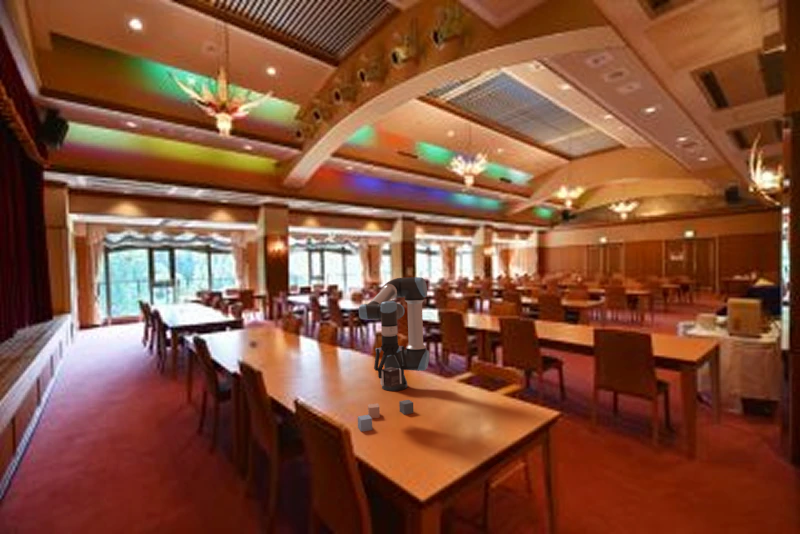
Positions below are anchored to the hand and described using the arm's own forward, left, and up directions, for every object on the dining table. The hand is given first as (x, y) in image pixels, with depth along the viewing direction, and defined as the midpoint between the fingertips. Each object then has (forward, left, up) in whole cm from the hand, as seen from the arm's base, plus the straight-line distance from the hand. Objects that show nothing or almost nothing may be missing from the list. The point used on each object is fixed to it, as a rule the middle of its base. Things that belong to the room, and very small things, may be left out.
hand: (391, 384), depth 176 cm
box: (0, 0, -1) cm, 1 cm away
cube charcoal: (-6, +9, -16) cm, 20 cm away
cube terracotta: (-7, -7, -16) cm, 19 cm away
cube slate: (+6, -14, -16) cm, 22 cm away
